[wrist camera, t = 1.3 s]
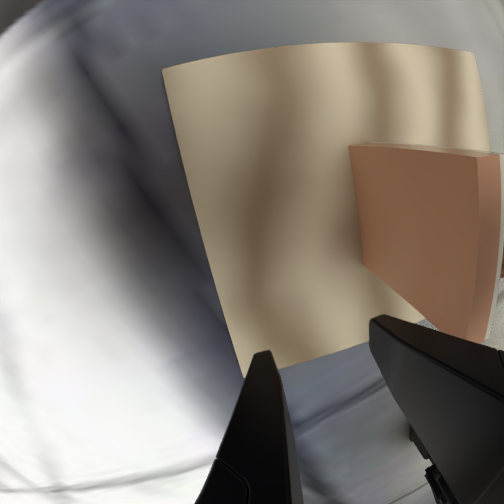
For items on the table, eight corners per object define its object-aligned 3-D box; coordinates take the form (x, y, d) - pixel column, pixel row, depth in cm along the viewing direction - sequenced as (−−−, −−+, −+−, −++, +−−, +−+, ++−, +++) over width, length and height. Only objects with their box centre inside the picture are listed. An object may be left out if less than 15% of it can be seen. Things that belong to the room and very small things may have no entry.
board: (465, 54, 17) (473, 52, 16) (479, 286, 23) (485, 290, 22) (164, 73, 15) (161, 69, 14) (242, 369, 22) (243, 378, 21)
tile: (371, 141, 17) (504, 154, 8) (384, 258, 20) (488, 337, 10) (348, 145, 17) (476, 157, 8) (362, 264, 20) (463, 352, 10)
